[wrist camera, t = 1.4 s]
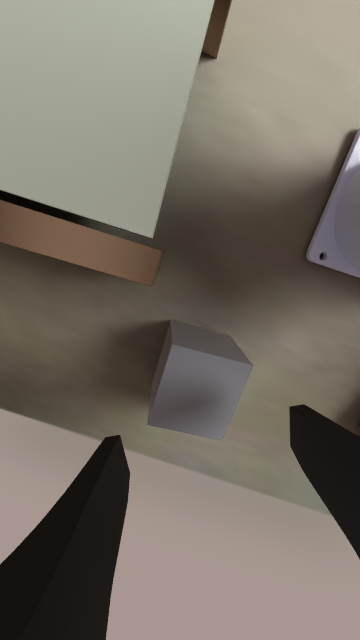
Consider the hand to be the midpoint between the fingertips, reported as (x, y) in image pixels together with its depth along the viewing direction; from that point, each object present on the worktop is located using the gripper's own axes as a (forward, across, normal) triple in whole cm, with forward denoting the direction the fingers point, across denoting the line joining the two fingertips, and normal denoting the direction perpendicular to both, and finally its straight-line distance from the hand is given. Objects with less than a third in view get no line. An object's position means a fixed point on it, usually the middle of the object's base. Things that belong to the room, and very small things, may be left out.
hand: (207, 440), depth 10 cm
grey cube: (+8, 0, 0) cm, 8 cm away
